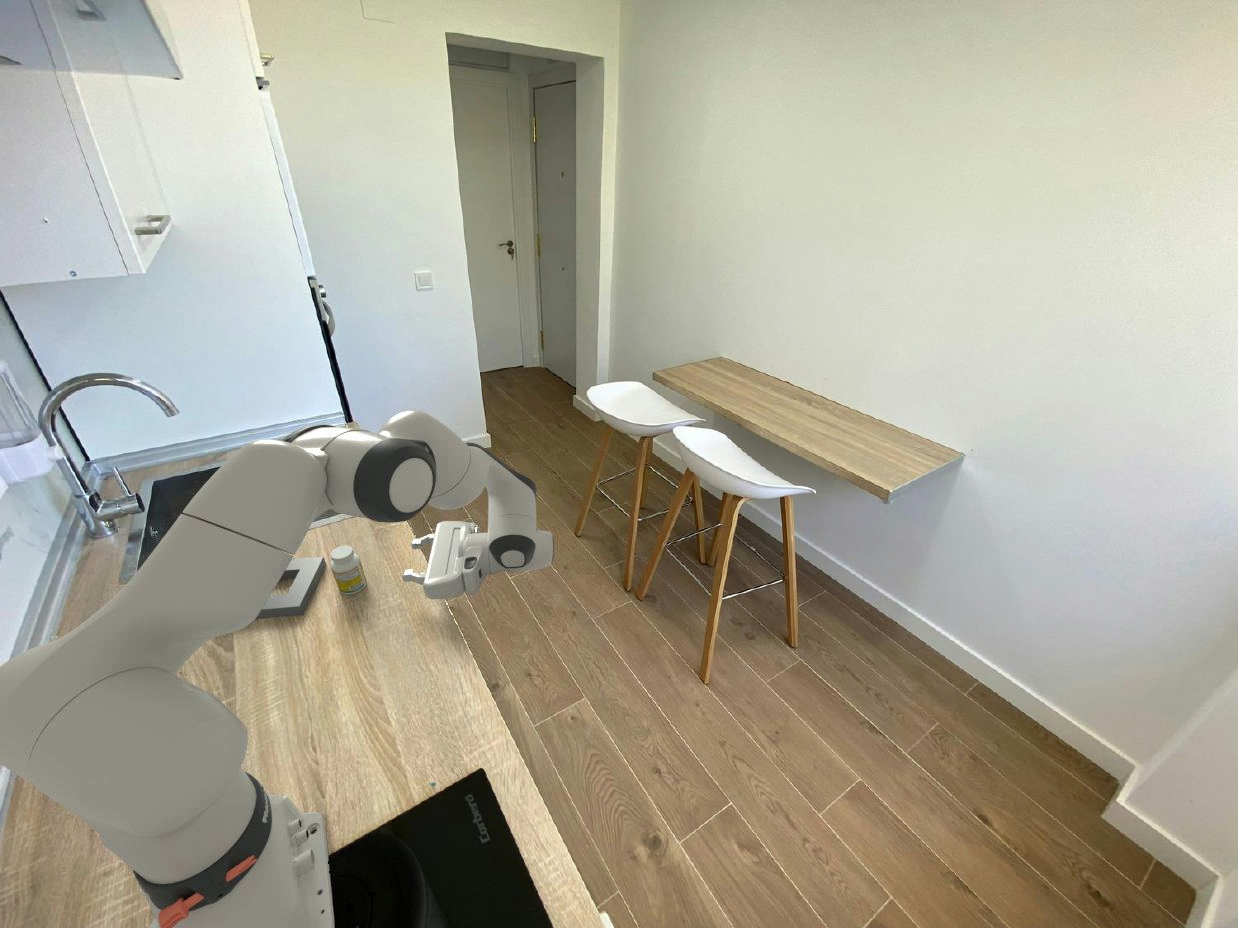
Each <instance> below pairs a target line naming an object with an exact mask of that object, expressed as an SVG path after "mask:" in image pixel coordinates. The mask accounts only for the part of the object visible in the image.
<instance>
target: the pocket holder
mask: <svg viewBox="0 0 1238 928" xmlns="http://www.w3.org/2000/svg"><path fill="white" fill-rule="evenodd" d="M326 567H327V562H326V559H325V557H324V556H312V557H311V556H310V557H298V558H292V560H291V562H290V563H289V565H288V567H287V568H286V570H285V572H284V573H283V575H282V577H281V578H280V580H281V581H282V580H292V579H294V580H293V582H292V584H291V586H290V588H289V590H288V592H287V594H277V595H275V594H274V595H270V596H269V598H268V600H267V601H266V603H265V605H264V606H263V608H262V610H261V611H260V613H259V614H258V616H257V617H256V618H255V619H254V620H261V619H262V620H263V619H271V618H272V619H274V618H284V617H286V618H287V617H295V616H296V617H298V616H303V615H304V614H305V612H306V610H307V608H308V606H309V604H310V601H311V599H312V597H313V595H314V594H315V593H314V592H315V591H316V589H317V587H318V584H319V582H320V580H321V578H322V576H323V573H324V571H325V569H326ZM280 580H279V581H280Z"/></svg>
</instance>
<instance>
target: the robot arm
mask: <svg viewBox="0 0 1238 928" xmlns="http://www.w3.org/2000/svg"><path fill="white" fill-rule="evenodd" d="M485 488H486V491H487V498H488V502H487V503H488V505H487V507H488V511H487V514H488V515H487V532H480V526H479V525H477V524H476V523H475V522H467V521H461V520H442V521H440V522H438V523H437V524H436V527H435V532H434V533H429V534H427V535H425V536H422V537H420V538H412V542H411V549H412V550H415V551H416V550H422V547H424V546H428V545H430V546H431V549H430V553H429V559H428V562H427V567H426V569H425V570H426V571H422V572H420V573H419V574H418V573H415V572H414V570H413V569H405V570H404V571H403V574H402V580H403V582H406V583H407V582H413V583H415V584H418V585H420V586H422V588H423V592H424V596H425V597H426V598H428V599H429V600H442V599H443V600H444V599H451V598H456V597H460V596H462V595H463V594H466V595H468V596H473V595H476V594H477V593H478V592H479V590H480V588H481V586H482V584H483V582H484V580H485V579H486V578H487V576H489V575H495V574H499V573H502V572H503V573H504V572H508V573H521V572H522V573H523V572H529V571H534V570H535V571H536V570H541V569H543V568H547V567H550V566H551V565H552V562H553V561H554V556H555V539H554V536H553V532H551V531H549V530H540V527H538V525H537V490H538V488H537V485H536V483H535V482H534V481H533V480H532V479H531V478H529V477H528V476H527V475H525V474H522V473H520V472H518V471H516V470H514V469H512V468H511V467H510V466H509V465H507V464H506V463H505V462H504V461H502V460H501V459H500V458H499V457H498V456H496V455H495V454H494V453H492V452H491V451H489V449H487V448H485V447H483V446H481V445H480V444H478V443H474V442H465V441H464V440H463V439H462V438H461V437H459V435H457V433H455V432H454V430H452V429H450V428H449V427H448V426H447V425H445V424H444V423H442V422H441V421H440V420H438V419H437V418H435V417H434V416H432V415H430V414H428V413H426V412H424V411H421V410H416V409H415V410H414V409H413V410H412V409H410V410H403V411H401V412H399V413H397V414H394V415H393V416H391V417H390V418H389V419H388V420H386V421H385V422H384V424H383V425H382V426H381V428H380V429H379V432H378V433H375V432H372V431H369V430H367V429H361V428H354V427H344V426H343V427H342V426H334V425H330V424H314V425H308V426H305V427H304V426H303V427H301V428H299V429H296V430H295V431H293V432H291V433H289V434H288V435H287V436H285V437H284V438H283V439H282V440H279V439H268V438H267V439H266V438H265V439H258V440H253V441H251V442H248V443H247V444H245V445H243V446H242V447H240V448H239V449H238V450H237V451H236V452H235V453H234V454H233V455H232V456H231V457H230V458H228V459H227V460H226V462H225V463H224V464H222V465H221V466H220V467H219V468H218V469H217V470H216V471H215V472H214V473H213V474H212V475H211V476H210V477H209V479H208V480H207V481H206V482H205V483H204V484H203V485H202V487H201V488H200V489H199V490H198V492H197V493H195V495H194V496H193V497H192V498H191V500H190V501H189V503H188V504H187V505H186V507H185V508H184V509H183V511H182V513H183V514H182V513H180V515H179V516H178V518H177V519H176V520H175V522H173V525H171V527H170V528H169V529H168V531H167V532H166V534H165V536H164V535H163V536H164V538H163V539H162V540H161V539H160V540H161V542H160V543H159V542H158V543H159V544H158V543H157V544H158V546H157V545H156V546H157V547H156V546H155V548H154V550H153V551H152V552H151V554H149V556H148V557H147V558H146V560H145V561H144V563H143V564H142V565H141V566H140V567H139V569H138V570H137V572H136V573H135V574H134V575H133V576H132V577H131V579H129V581H128V582H127V583H126V584H125V585H124V586H123V587H122V589H121V590H119V591H118V593H116V595H115V596H113V597H112V598H111V599H110V600H109V601H108V602H106V604H104V605H103V606H102V607H101V608H100V609H98V610H97V611H96V612H95V613H93V614H92V615H91V616H90V617H89V618H87V619H86V620H85V621H83V622H82V623H80V624H79V625H78V626H76V627H75V628H74V629H72V630H71V631H69V632H67V633H66V634H64V635H63V636H61V637H59V638H57V639H55V640H53V641H50V642H47V643H43V644H40V645H37V646H35V647H32V648H29V649H28V650H25V651H23V652H21V653H19V654H17V655H16V656H14V657H12V658H11V659H9V660H7V661H6V662H4V663H3V664H2V665H0V765H1V766H3V767H4V768H6V769H7V770H9V771H10V772H12V773H13V774H15V775H17V776H18V777H20V778H22V779H23V780H24V781H26V782H27V783H29V784H31V785H32V786H33V787H34V788H35V789H36V790H37V791H38V792H40V793H42V794H43V795H45V796H47V797H49V798H50V800H52V801H54V802H56V803H57V804H59V805H60V806H61V807H64V808H65V810H68V811H69V812H70V813H72V814H74V815H75V816H77V817H78V818H79V819H80V820H82V821H84V823H86V824H87V825H88V826H90V827H91V828H92V830H94V831H95V832H96V833H97V834H98V836H99V838H100V842H101V844H102V845H103V846H104V847H105V848H106V849H108V850H109V851H110V852H112V853H113V854H114V855H115V856H116V857H117V858H118V859H120V860H121V861H122V862H123V863H125V864H126V865H127V866H128V867H130V868H131V869H132V872H133V875H134V877H135V878H136V881H137V883H138V885H139V887H140V889H139V894H140V895H142V896H143V897H144V898H146V900H147V903H148V905H149V907H150V910H151V912H152V914H153V916H154V919H153V920H152V922H151V923H150V925H149V927H148V928H335V913H334V906H333V905H334V904H333V893H332V892H333V891H332V885H331V884H332V882H331V874H330V873H329V871H330V863H329V864H328V861H329V851H328V841H327V832H326V831H327V830H326V820H325V817H324V816H323V815H322V814H321V813H320V812H316V811H314V812H313V811H312V812H302V811H301V810H300V809H299V808H298V806H297V805H296V804H295V803H294V802H293V800H292V799H291V798H290V797H289V796H287V795H283V794H282V795H281V794H274V793H273V794H272V793H267V792H266V790H265V788H264V786H263V784H262V783H261V782H260V781H259V780H258V779H257V778H255V777H254V775H252V774H251V773H249V772H247V771H245V770H244V768H243V767H242V765H243V762H244V760H245V758H246V754H247V750H248V745H249V734H248V730H247V727H246V725H245V723H244V722H243V721H242V720H241V719H240V718H239V717H238V716H237V715H236V714H235V713H234V712H233V711H232V710H231V709H230V708H229V707H228V706H226V704H225V703H224V702H222V701H221V700H220V699H219V698H218V697H217V696H215V695H214V694H212V693H210V692H209V691H208V690H205V689H203V688H201V687H198V686H197V685H195V684H192V683H190V682H188V681H186V680H184V679H183V678H180V677H178V676H177V675H178V674H179V673H178V672H179V671H180V669H181V668H182V666H184V664H185V663H186V662H187V661H188V659H190V657H191V656H192V655H193V654H194V653H196V651H198V650H199V649H200V648H201V647H202V646H204V645H206V643H207V642H210V641H211V640H212V639H214V638H216V637H218V636H224V635H228V634H233V633H235V632H239V631H240V630H242V629H244V628H246V627H247V626H249V625H250V624H251V623H252V622H254V621H255V620H256V619H255V618H256V617H257V616H258V614H259V613H260V611H261V610H262V608H263V606H264V605H265V603H266V601H267V600H268V598H269V596H272V593H273V591H274V590H275V588H276V586H277V585H278V584H279V581H280V578H281V577H282V575H283V573H284V572H285V570H286V568H287V567H288V565H289V563H290V562H291V560H292V559H294V556H295V555H296V554H297V552H298V550H299V549H300V547H301V544H302V543H303V541H304V539H305V537H306V535H307V533H309V532H308V531H309V530H310V528H311V525H312V523H314V522H315V521H316V520H317V519H318V517H320V516H321V515H323V514H324V513H325V512H327V511H328V510H331V511H333V512H336V513H338V514H342V515H346V516H350V517H351V516H352V517H356V518H363V519H369V520H371V521H373V522H377V523H387V524H389V523H391V524H392V523H402V522H406V521H407V522H408V521H409V520H412V519H414V517H416V516H417V515H418V514H420V513H421V511H423V510H424V509H425V507H426V506H427V505H429V506H432V507H433V508H436V509H439V510H444V511H446V510H448V511H449V510H458V509H460V508H463V507H466V506H467V505H469V504H471V503H472V502H473V501H475V500H476V499H477V498H478V497H480V495H481V494H482V493H483V492H484V490H485ZM314 831H315V832H314ZM313 832H314V833H313Z"/></svg>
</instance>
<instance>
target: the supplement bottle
mask: <svg viewBox="0 0 1238 928" xmlns="http://www.w3.org/2000/svg"><path fill="white" fill-rule="evenodd" d="M330 558H331V562H330V569H331V572H332V575H333V577H334V580H335V582H336V586H337V588H338V590H339V591H338V592H340V594H343V595H347V596H348V595H349V596H351V595H355V594H358V593H360V592H361V591H362V590H364V589H365V587H366V586H367V579H366V575H365V572H364V568H363V565H362V562H361V559H360V557H359V555H358V554H356V553H355V552H354V549H353V547H352V546H350V545H341V546H337V547H336V548H334V549H333V550H332V551H330Z"/></svg>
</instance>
